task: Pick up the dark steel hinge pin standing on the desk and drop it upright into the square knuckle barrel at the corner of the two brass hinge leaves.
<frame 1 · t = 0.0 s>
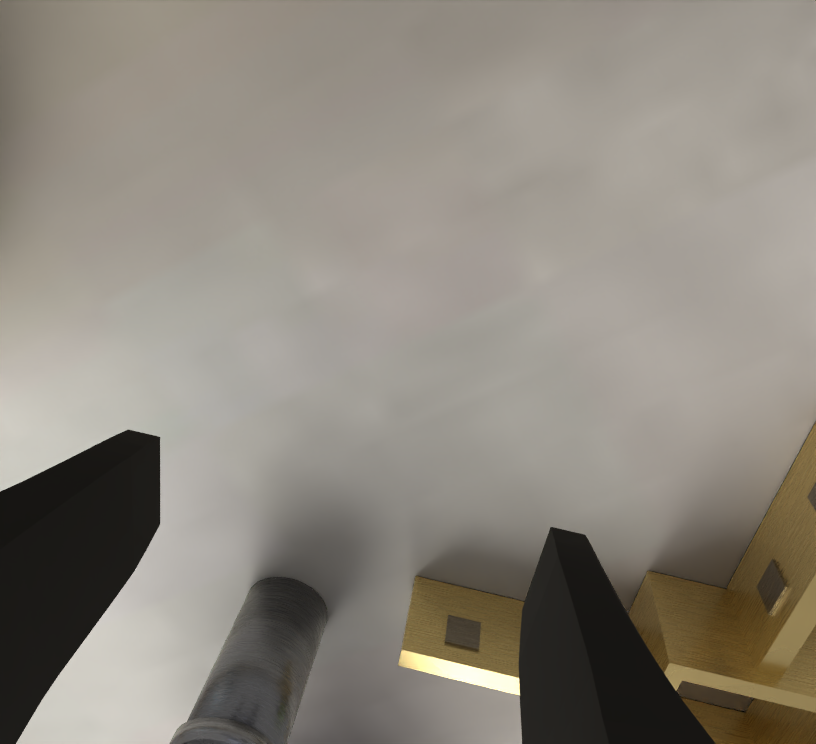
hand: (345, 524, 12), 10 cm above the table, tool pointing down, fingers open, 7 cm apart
hinge leaves: (703, 652, 26), on the table
pin: (287, 608, 28), on the table
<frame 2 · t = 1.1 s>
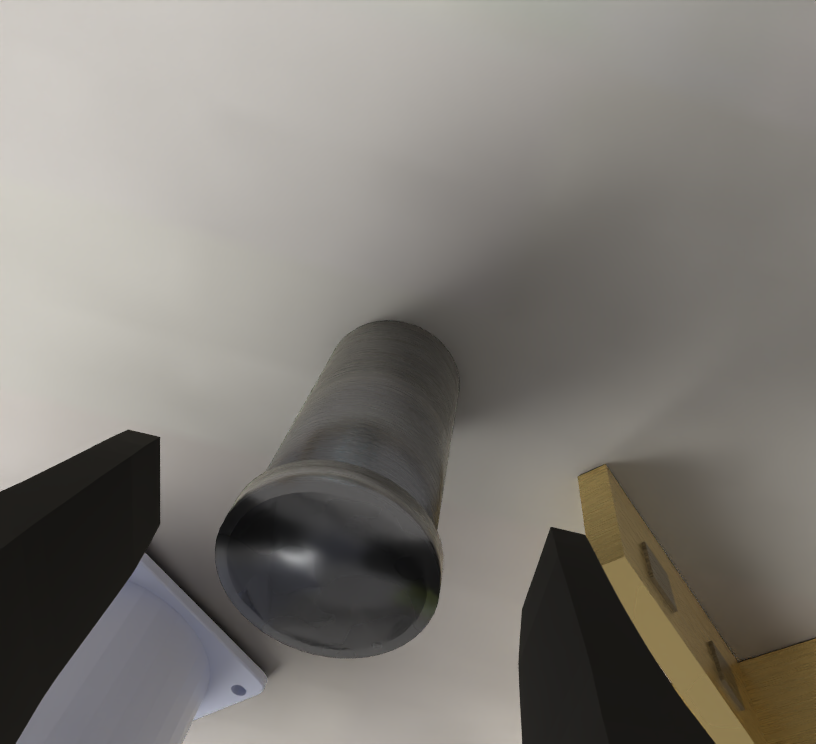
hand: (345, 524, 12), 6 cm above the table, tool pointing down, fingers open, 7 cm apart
hinge leaves: (770, 733, 21), on the table
pin: (393, 382, 17), on the table
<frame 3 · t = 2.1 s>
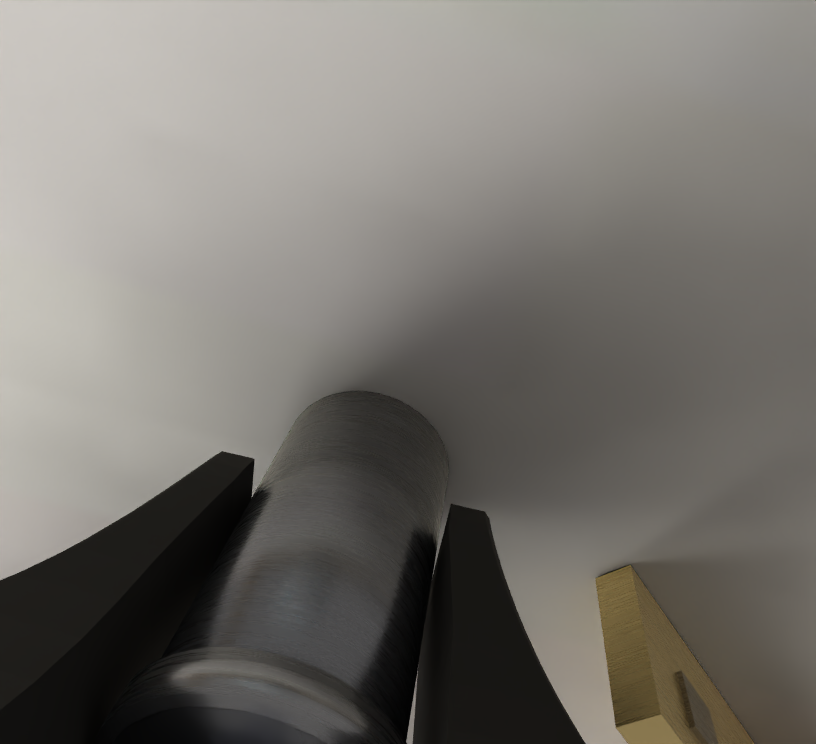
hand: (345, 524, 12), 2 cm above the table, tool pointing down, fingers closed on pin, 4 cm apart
pin: (366, 464, 14), on the table, touching gripper
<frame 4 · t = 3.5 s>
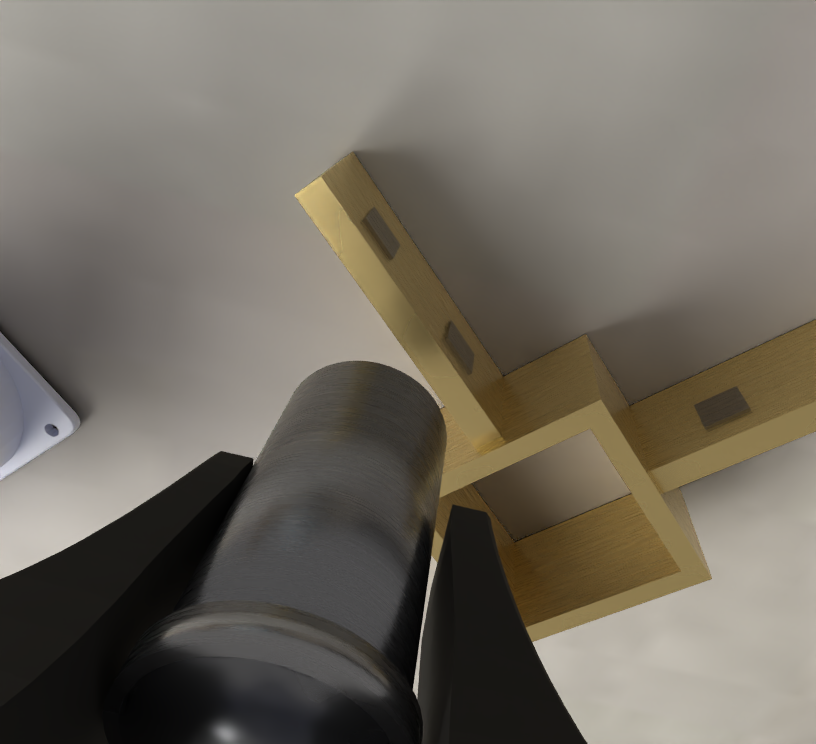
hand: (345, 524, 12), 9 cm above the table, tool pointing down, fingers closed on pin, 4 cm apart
hinge leaves: (543, 457, 22), on the table
pin: (365, 433, 14), point 7 cm above the table, touching gripper
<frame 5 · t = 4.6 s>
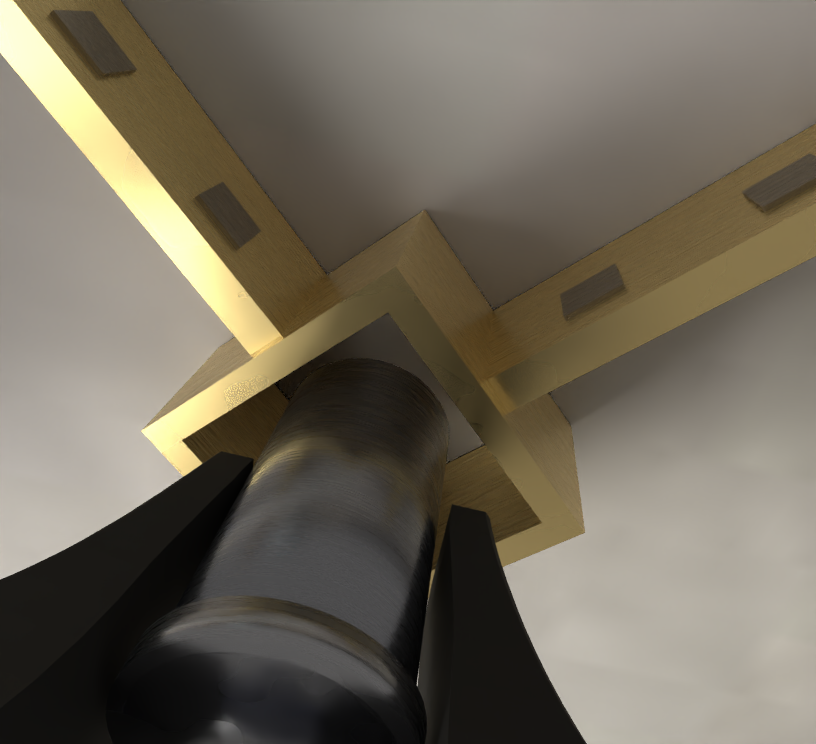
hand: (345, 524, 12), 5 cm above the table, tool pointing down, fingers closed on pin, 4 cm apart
hinge leaves: (392, 386, 17), on the table
pin: (367, 431, 14), point 3 cm above the table, touching gripper
when the fingers open (5 cm above the table, at t = 5.1 s): pin drops 2 cm, resting in hinge leaves.
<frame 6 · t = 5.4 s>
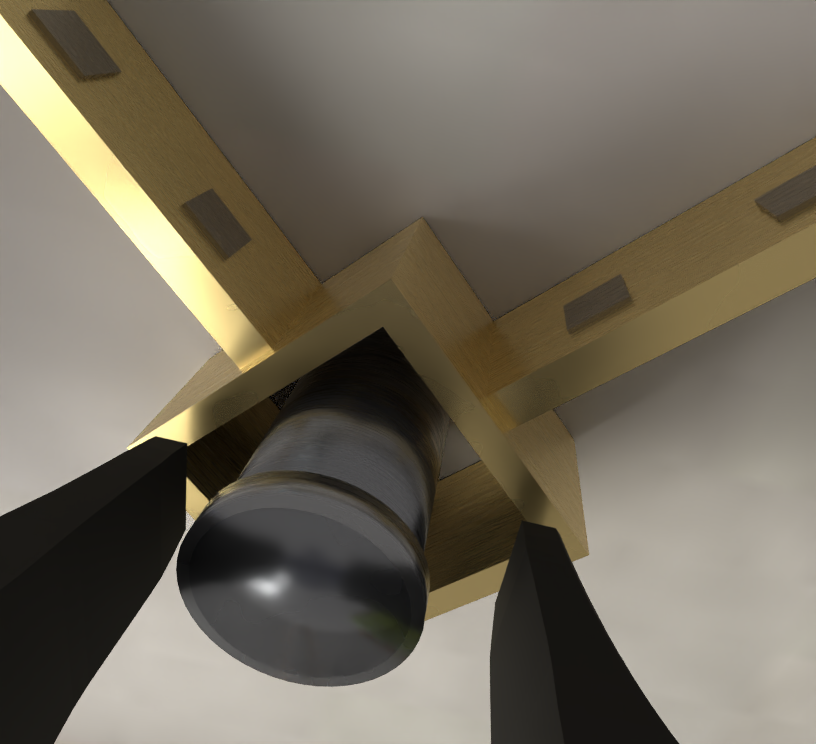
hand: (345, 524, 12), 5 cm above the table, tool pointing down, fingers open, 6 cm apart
hinge leaves: (389, 399, 17), on the table
pin: (384, 378, 16), resting in hinge leaves
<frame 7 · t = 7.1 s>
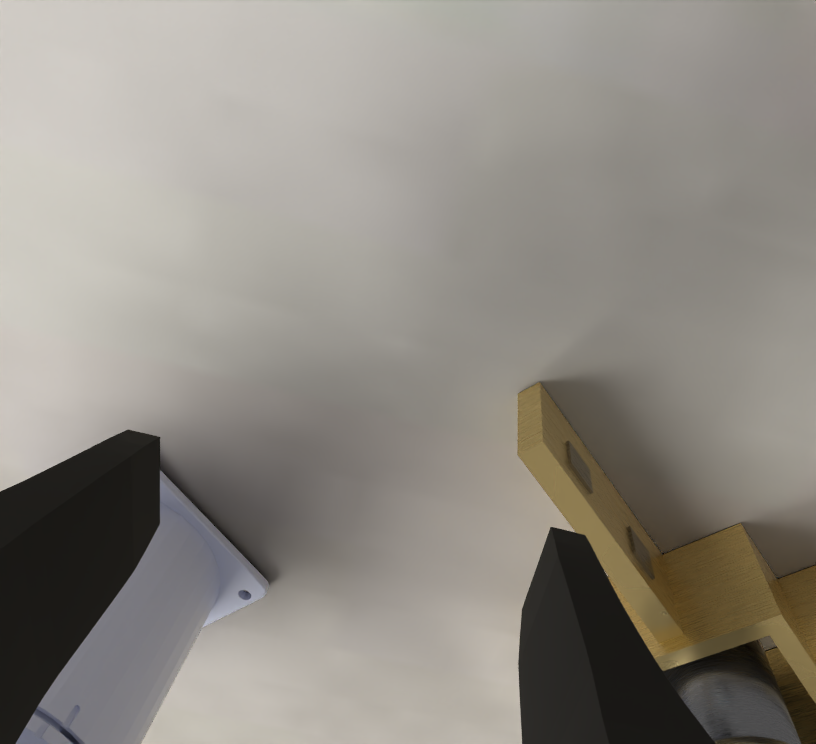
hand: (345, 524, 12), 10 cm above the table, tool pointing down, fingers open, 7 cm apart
hinge leaves: (694, 618, 25), on the table
pin: (693, 607, 25), resting in hinge leaves
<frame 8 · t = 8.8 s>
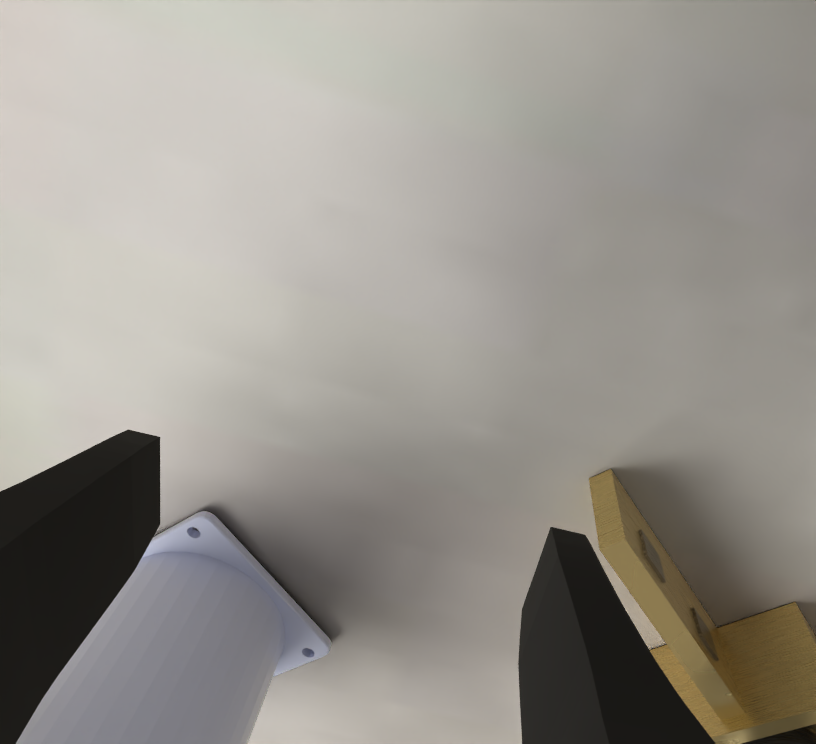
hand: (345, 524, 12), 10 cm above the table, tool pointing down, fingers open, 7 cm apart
hinge leaves: (743, 686, 26), on the table
pin: (743, 676, 26), resting in hinge leaves
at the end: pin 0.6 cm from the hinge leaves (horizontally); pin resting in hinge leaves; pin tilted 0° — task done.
